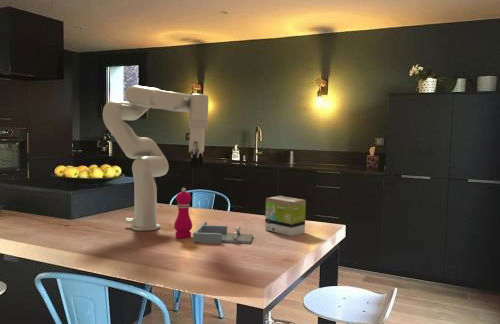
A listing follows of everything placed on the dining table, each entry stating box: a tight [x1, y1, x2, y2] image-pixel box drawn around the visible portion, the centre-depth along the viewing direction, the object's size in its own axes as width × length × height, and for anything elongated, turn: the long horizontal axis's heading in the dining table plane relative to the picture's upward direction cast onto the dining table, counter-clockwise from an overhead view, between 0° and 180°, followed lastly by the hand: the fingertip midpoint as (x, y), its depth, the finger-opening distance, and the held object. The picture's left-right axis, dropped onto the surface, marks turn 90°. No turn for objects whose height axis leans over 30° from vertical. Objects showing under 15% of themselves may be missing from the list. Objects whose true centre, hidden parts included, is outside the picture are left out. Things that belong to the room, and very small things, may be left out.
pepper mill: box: [173, 187, 193, 239], centre depth 181 cm, size 7×7×20 cm
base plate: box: [221, 226, 254, 245], centre depth 179 cm, size 12×12×4 cm
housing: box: [192, 221, 228, 244], centre depth 184 cm, size 11×23×4 cm, turn 175°
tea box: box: [264, 195, 307, 237], centre depth 195 cm, size 15×10×15 cm
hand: (196, 167), depth 182 cm, fingers open, 9 cm apart
